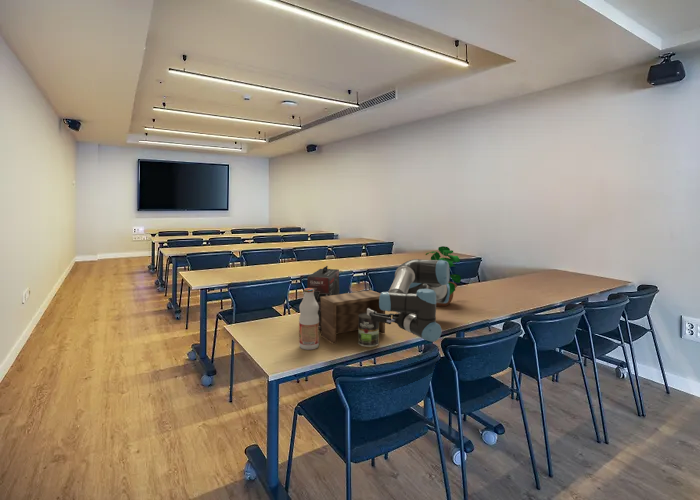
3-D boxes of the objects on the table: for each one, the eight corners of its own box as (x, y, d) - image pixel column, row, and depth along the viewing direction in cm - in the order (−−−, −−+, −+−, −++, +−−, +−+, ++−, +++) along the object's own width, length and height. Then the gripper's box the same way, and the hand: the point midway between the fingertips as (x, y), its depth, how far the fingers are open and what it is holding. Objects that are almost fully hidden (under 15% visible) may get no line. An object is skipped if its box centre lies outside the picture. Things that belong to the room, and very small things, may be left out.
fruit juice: (308, 351, 177) (308, 292, 174) (295, 346, 184) (294, 289, 180) (323, 346, 184) (323, 288, 181) (310, 341, 191) (309, 285, 187)
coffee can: (376, 348, 182) (376, 319, 181) (355, 345, 185) (355, 317, 184) (381, 340, 192) (381, 313, 191) (361, 338, 195) (361, 311, 194)
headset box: (329, 331, 205) (329, 270, 201) (306, 330, 208) (306, 269, 204) (340, 318, 229) (340, 263, 225) (319, 317, 231) (319, 262, 227)
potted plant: (434, 312, 243) (436, 250, 239) (415, 301, 271) (417, 245, 266) (477, 309, 251) (480, 249, 246) (455, 298, 279) (457, 244, 274)
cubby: (370, 326, 215) (371, 290, 212) (384, 333, 203) (385, 295, 201) (320, 335, 199) (320, 296, 197) (333, 343, 188) (333, 302, 185)
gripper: (385, 336, 154) (356, 321, 172) (431, 325, 167) (401, 312, 185) (385, 318, 153) (357, 305, 171) (432, 308, 166) (401, 297, 184)
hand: (379, 309), depth 178 cm, fingers open, 13 cm apart
